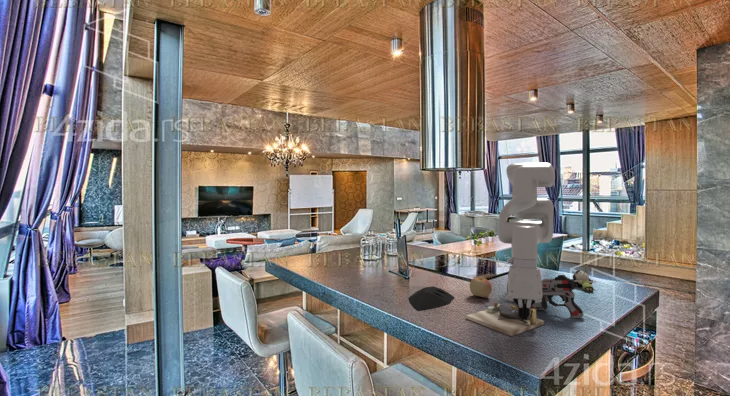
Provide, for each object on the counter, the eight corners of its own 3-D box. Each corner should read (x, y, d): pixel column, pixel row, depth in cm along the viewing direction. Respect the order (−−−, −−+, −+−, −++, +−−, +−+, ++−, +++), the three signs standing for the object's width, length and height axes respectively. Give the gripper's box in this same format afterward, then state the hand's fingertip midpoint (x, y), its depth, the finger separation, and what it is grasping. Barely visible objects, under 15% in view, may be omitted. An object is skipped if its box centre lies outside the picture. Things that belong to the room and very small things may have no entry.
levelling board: (498, 309, 136) (498, 298, 135) (543, 324, 120) (544, 312, 120) (466, 318, 126) (466, 306, 126) (511, 336, 111) (511, 322, 111)
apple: (476, 292, 157) (476, 274, 157) (495, 297, 151) (495, 278, 151) (465, 296, 151) (465, 278, 151) (485, 301, 145) (485, 282, 145)
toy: (578, 284, 157) (567, 267, 171) (576, 298, 159) (565, 279, 173) (604, 285, 155) (591, 268, 169) (602, 299, 157) (589, 281, 171)
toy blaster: (523, 313, 140) (516, 275, 141) (584, 316, 127) (576, 273, 128) (520, 316, 137) (513, 277, 138) (583, 319, 124) (574, 275, 125)
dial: (494, 312, 127) (494, 298, 127) (511, 309, 130) (511, 296, 130) (525, 327, 114) (526, 311, 114) (544, 323, 117) (544, 308, 117)
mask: (396, 297, 137) (420, 279, 164) (395, 309, 137) (420, 289, 164) (440, 303, 129) (458, 284, 156) (440, 316, 129) (458, 294, 156)
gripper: (501, 264, 114) (501, 321, 114) (552, 266, 111) (551, 324, 111) (498, 259, 121) (497, 313, 121) (545, 261, 118) (545, 316, 118)
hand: (523, 318), depth 116 cm, fingers closed
